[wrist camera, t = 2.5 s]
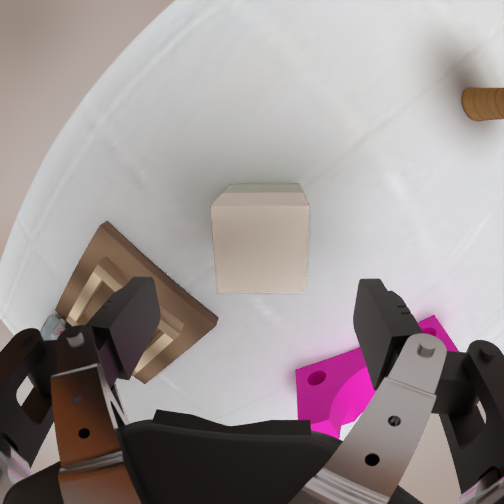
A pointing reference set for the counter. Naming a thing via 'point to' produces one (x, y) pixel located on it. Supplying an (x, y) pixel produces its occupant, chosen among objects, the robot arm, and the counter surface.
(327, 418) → the toy block
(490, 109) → the kendama
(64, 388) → the robot arm
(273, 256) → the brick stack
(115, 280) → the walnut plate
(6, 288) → the counter surface
